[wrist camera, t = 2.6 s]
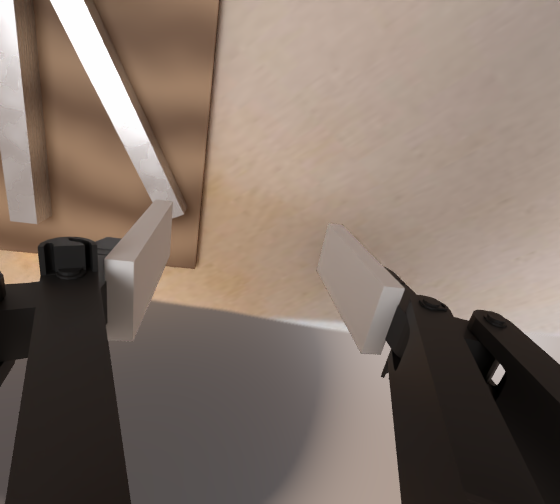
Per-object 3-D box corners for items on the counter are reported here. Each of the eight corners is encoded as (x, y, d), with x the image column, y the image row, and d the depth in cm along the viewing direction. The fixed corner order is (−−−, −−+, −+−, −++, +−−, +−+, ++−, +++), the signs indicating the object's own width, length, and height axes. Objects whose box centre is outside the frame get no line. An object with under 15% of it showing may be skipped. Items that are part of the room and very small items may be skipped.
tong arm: (41, -34, 23) (18, -52, 20) (76, -47, 23) (57, -66, 20) (165, 214, 31) (159, 223, 28) (190, 205, 31) (187, 213, 28)
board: (-76, -164, 20) (-93, -179, 19) (226, -72, 24) (225, -80, 23) (-8, 243, 31) (-17, 248, 30) (195, 263, 35) (194, 268, 33)
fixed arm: (-14, -133, 21) (-44, -164, 18) (22, -123, 21) (-4, -152, 19) (27, 212, 29) (10, 221, 27) (52, 215, 29) (37, 224, 27)
